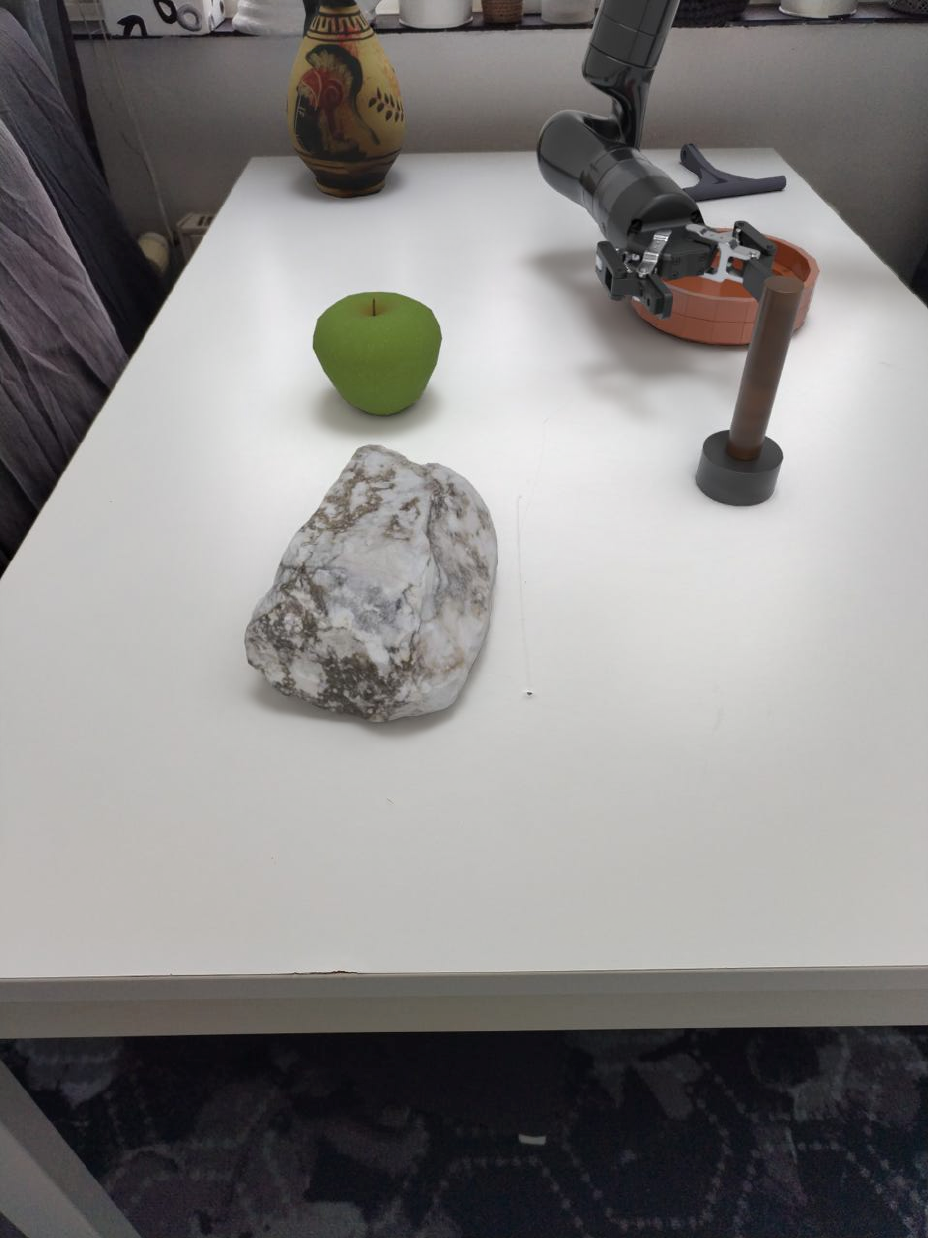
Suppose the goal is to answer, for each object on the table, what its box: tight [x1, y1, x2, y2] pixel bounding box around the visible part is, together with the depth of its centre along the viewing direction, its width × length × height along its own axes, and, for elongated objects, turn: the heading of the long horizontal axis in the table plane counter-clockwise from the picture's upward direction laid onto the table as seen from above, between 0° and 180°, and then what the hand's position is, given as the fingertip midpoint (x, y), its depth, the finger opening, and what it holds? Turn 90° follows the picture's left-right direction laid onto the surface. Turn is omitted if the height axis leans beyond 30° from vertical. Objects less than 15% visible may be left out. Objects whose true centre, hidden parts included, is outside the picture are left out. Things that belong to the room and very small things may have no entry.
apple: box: [312, 291, 443, 417], centre depth 74 cm, size 11×10×10 cm
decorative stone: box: [243, 443, 499, 723], centre depth 55 cm, size 20×14×10 cm
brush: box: [695, 276, 805, 507], centre depth 62 cm, size 6×6×16 cm
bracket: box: [679, 142, 787, 202], centre depth 116 cm, size 14×15×3 cm
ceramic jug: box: [285, 0, 406, 199], centre depth 107 cm, size 17×15×30 cm
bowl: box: [631, 227, 820, 346], centre depth 87 cm, size 18×18×5 cm
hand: (719, 300), depth 68 cm, fingers open, 8 cm apart
